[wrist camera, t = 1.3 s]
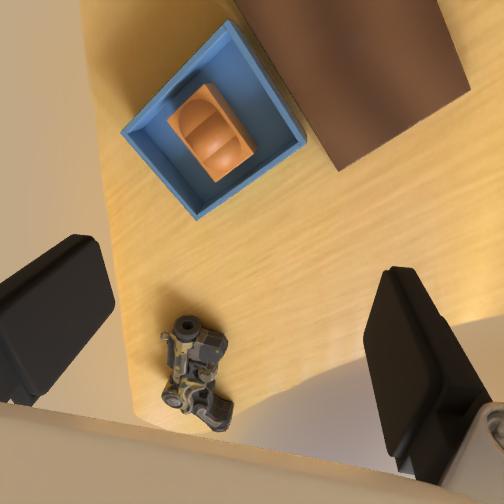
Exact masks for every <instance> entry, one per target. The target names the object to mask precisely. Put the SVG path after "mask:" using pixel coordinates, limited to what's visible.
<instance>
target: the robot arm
mask: <svg viewBox="0 0 504 504" xmlns="http://www.w3.org/2000/svg"><path fill="white" fill-rule="evenodd" d="M114 307H115V299H114V296H113V292H112V289H111V285H110V282H109V278H108V274H107V271H106V267H105V264H104V260H103V257H102V253H101V249H100V246H99V243H98V242H97V241H95V239H94V238H93V237H92V236H88V235H78V234H73V235H70V236H69V237H67V238H66V239H64V240H63V241H61V242H60V243H59V244H57V245H56V246H54V247H53V248H51V249H50V250H48V251H47V252H46V253H44V254H42V255H41V256H40V257H38V258H37V259H35V260H34V261H33V262H31V263H29V264H28V265H26V266H25V267H24V268H22V269H21V270H19V271H18V272H16V273H15V274H13V275H12V276H11V277H9V278H8V279H6V280H5V281H3V282H2V283H0V504H504V402H493V401H492V399H491V397H490V396H489V394H488V392H487V390H486V389H485V387H484V385H483V383H482V382H481V380H480V378H479V377H478V375H477V373H476V371H475V370H474V368H473V366H472V364H471V363H470V361H469V359H468V357H467V356H466V354H465V352H464V351H463V349H462V347H461V345H460V344H459V342H458V340H457V338H456V337H455V335H454V333H453V332H452V330H451V328H450V326H449V325H448V323H447V321H446V320H445V319H444V317H443V316H441V315H440V314H439V312H438V310H437V308H436V307H435V305H434V303H433V301H432V300H431V298H430V296H429V294H428V293H427V291H426V289H425V287H424V286H423V284H422V282H421V280H420V278H419V277H418V275H417V273H416V271H415V270H414V269H413V268H406V267H396V266H392V267H391V268H390V270H385V271H384V272H383V274H382V277H381V280H380V283H379V286H378V289H377V293H376V296H375V299H374V302H373V306H372V309H371V312H370V315H369V318H368V322H367V325H366V328H365V331H364V336H363V344H364V349H365V353H366V358H367V362H368V367H369V371H370V376H371V380H372V385H373V389H374V394H375V399H376V403H377V408H378V412H379V417H380V421H381V426H382V430H383V435H384V439H385V444H386V448H387V452H388V454H389V455H390V456H391V457H395V459H396V463H397V468H398V472H401V473H407V474H412V475H415V478H416V480H414V479H410V478H406V477H402V476H398V475H394V474H390V473H386V472H381V471H375V470H371V469H366V468H361V467H356V466H351V465H346V464H341V463H336V462H331V461H326V460H321V459H316V458H311V457H306V456H301V455H295V454H290V453H284V452H279V451H273V450H268V449H262V448H257V447H252V446H246V445H241V444H235V443H230V442H224V441H219V440H213V439H208V438H202V437H197V436H191V435H186V434H180V433H175V432H169V431H163V430H158V429H152V428H147V427H141V426H135V425H130V424H124V423H118V422H113V421H107V420H101V419H96V418H90V417H85V416H79V415H73V414H67V413H62V412H56V411H50V410H44V409H38V408H33V407H32V406H33V404H34V403H35V402H36V401H37V400H38V398H39V397H40V396H42V395H44V394H46V393H47V392H48V391H49V389H50V388H51V387H52V386H53V385H54V383H55V382H56V381H57V379H58V378H59V377H60V376H61V375H62V373H63V372H64V371H65V370H66V368H67V367H68V366H69V365H70V364H71V362H72V361H73V360H74V359H75V357H76V356H77V355H78V354H79V352H80V351H81V350H82V349H83V347H84V346H85V345H86V344H87V343H88V341H89V340H90V339H91V338H92V336H93V335H94V334H95V333H96V331H97V330H98V329H99V328H100V327H101V325H102V324H103V323H104V322H105V320H106V319H107V318H108V317H109V315H110V314H111V313H112V311H113V310H114ZM10 399H12V401H13V402H14V404H8V403H7V402H8V401H9V400H10ZM15 404H18V405H15ZM21 405H24V406H21ZM27 406H29V407H27Z"/></svg>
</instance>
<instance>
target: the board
mask: <svg viewBox="0 0 504 504" xmlns="http://www.w3.org/2000/svg"><path fill="white" fill-rule="evenodd" d="M234 2H235V4H236V5H237V7H238V8H239V10H240V12H241V13H242V15H243V17H244V18H245V20H246V22H247V23H248V25H249V26H250V28H251V30H252V31H253V33H254V35H255V36H256V38H257V40H258V41H259V43H260V44H261V46H262V48H263V49H264V51H265V53H266V54H267V56H268V57H269V59H270V61H271V62H272V64H273V66H274V67H275V69H276V71H277V72H278V74H279V75H280V77H281V79H282V80H283V82H284V84H285V85H286V87H287V89H288V90H289V92H290V93H291V95H292V97H293V98H294V100H295V102H296V103H297V105H298V107H299V108H300V110H301V111H302V113H303V115H304V116H305V118H306V120H307V121H308V123H309V124H310V126H311V128H312V129H313V131H314V133H315V134H316V136H317V138H318V139H319V141H320V142H321V144H322V146H323V147H324V149H325V151H326V152H327V154H328V156H329V157H330V159H331V160H332V162H333V164H334V165H335V167H336V169H337V170H338V172H340V171H341V170H343V169H345V168H346V167H348V166H349V165H351V164H353V163H354V162H356V161H357V160H359V159H361V158H362V157H364V156H366V155H367V154H369V153H370V152H372V151H374V150H375V149H377V148H378V147H380V146H382V145H383V144H385V143H386V142H388V141H390V140H391V139H393V138H394V137H396V136H398V135H399V134H401V133H402V132H404V131H406V130H407V129H409V128H411V127H412V126H414V125H415V124H417V123H419V122H420V121H422V120H423V119H425V118H427V117H428V116H430V115H431V114H433V113H435V112H436V111H438V110H439V109H441V108H443V107H444V106H446V105H448V104H449V103H451V102H452V101H454V100H456V99H457V98H459V97H460V96H462V95H464V94H465V93H467V92H468V91H470V90H471V88H470V85H469V83H468V80H467V78H466V75H465V73H464V70H463V67H462V65H461V62H460V60H459V57H458V54H457V52H456V49H455V47H454V44H453V42H452V39H451V36H450V34H449V31H448V29H447V26H446V23H445V21H444V18H443V16H442V13H441V11H440V8H439V5H438V3H437V0H234Z"/></svg>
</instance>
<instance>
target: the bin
mask: <svg viewBox="0 0 504 504" xmlns="http://www.w3.org/2000/svg"><path fill="white" fill-rule="evenodd" d="M208 83H214V84H215V86H216V87H217V88H218V90H219V91H220V93H221V94H222V96H223V97H224V99H225V100H226V101H227V103H228V104H229V106H230V107H231V109H232V110H233V111H234V113H235V114H236V116H237V117H238V119H239V120H240V121H241V123H242V124H243V126H244V127H245V129H246V130H247V131H248V133H249V134H250V136H251V137H252V139H253V140H254V142H255V143H256V144H257V146H258V148H257V150H256V151H255V153H254V154H253V155H252V156H250V157H249V158H248V159H246V160H245V161H244V162H242V163H241V164H240V165H238V166H237V167H236V168H234V169H233V170H232V171H230V172H229V173H228V174H226V175H225V176H224V177H222V178H221V179H220V180H218V181H217V182H215V181H214V180H213V179H212V178H211V176H210V175H209V174H208V173H207V171H206V170H205V169H204V167H203V166H202V165H201V164H200V162H199V161H198V160H197V159H196V157H195V156H194V155H193V154H192V152H191V151H190V150H189V149H188V147H187V146H186V145H185V143H184V142H183V141H182V140H181V138H180V137H179V136H178V135H177V133H176V132H175V131H174V130H173V128H172V127H171V126H170V125H169V123H168V122H167V119H168V118H169V117H171V116H172V115H173V114H174V113H175V112H176V111H177V110H178V109H179V108H180V107H181V106H182V105H183V104H184V103H185V102H186V101H187V100H188V99H189V98H190V97H191V96H192V95H193V94H194V93H195V92H196V91H197V90H198V89H199V88H200V87H201V86H202V85H203V84H208ZM120 133H121V134H122V135H123V137H124V138H125V139H126V140H127V141H128V142H129V144H130V145H131V146H132V147H133V148H134V149H135V151H136V152H137V153H138V154H139V155H140V156H141V157H142V159H143V160H144V161H145V162H146V163H147V164H148V166H149V167H150V168H151V169H152V170H153V171H154V173H155V174H156V175H157V176H158V177H159V178H160V179H161V181H162V182H163V183H164V184H165V185H166V186H167V188H168V189H169V190H170V191H171V192H172V193H173V195H174V196H175V197H176V198H177V199H178V200H179V201H180V203H181V204H182V205H183V206H184V207H185V208H186V210H187V211H188V212H189V213H190V214H191V215H192V217H193V218H194V219H195V220H196V221H197V220H199V219H200V218H202V217H203V216H205V215H206V214H207V213H209V212H210V211H212V210H213V209H215V208H216V207H217V206H219V205H220V204H222V203H223V202H224V201H226V200H227V199H229V198H230V197H232V196H233V195H234V194H236V193H237V192H239V191H240V190H242V189H243V188H244V187H246V186H247V185H249V184H250V183H251V182H253V181H254V180H256V179H257V178H259V177H260V176H261V175H263V174H264V173H266V172H267V171H269V170H270V169H271V168H273V167H274V166H276V165H277V164H279V163H280V162H281V161H283V160H284V159H286V158H287V157H288V156H290V155H291V154H293V153H294V152H296V151H297V150H298V149H300V148H301V147H303V146H304V145H305V144H307V135H306V133H305V132H304V130H303V128H302V127H301V125H300V124H299V122H298V120H297V119H296V117H295V116H294V114H293V112H292V111H291V109H290V108H289V106H288V104H287V103H286V101H285V100H284V98H283V96H282V95H281V93H280V92H279V90H278V88H277V87H276V85H275V84H274V82H273V80H272V79H271V77H270V76H269V74H268V72H267V71H266V69H265V68H264V66H263V64H262V63H261V61H260V60H259V58H258V56H257V55H256V53H255V52H254V50H253V48H252V47H251V45H250V44H249V42H248V40H247V39H246V37H245V36H244V34H243V32H242V31H241V29H240V28H239V26H238V25H237V24H235V23H234V22H232V21H231V20H229V19H227V20H226V21H225V22H224V23H223V25H221V27H220V28H219V29H218V30H217V31H216V32H215V33H214V34H213V35H212V36H211V37H210V38H209V39H208V40H207V41H206V42H205V43H204V44H203V45H202V47H201V48H200V49H199V50H198V51H197V52H196V53H195V54H194V55H193V56H192V57H191V58H190V59H189V60H188V61H187V62H186V63H185V64H184V66H183V67H182V68H181V69H180V70H179V71H178V72H177V73H176V74H175V75H174V76H173V77H172V78H171V79H170V80H169V81H168V82H167V83H166V84H165V86H164V87H163V88H162V89H161V90H160V91H159V92H158V93H157V94H156V95H155V96H154V97H153V98H152V99H151V100H150V101H149V102H148V103H147V104H146V106H145V107H144V108H143V109H142V110H141V111H140V112H139V113H138V114H137V115H136V116H135V117H134V118H133V119H132V120H131V121H130V122H129V123H128V124H127V126H126V127H125V128H124V129H123V130H122V131H121V132H120Z"/></svg>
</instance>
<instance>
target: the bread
mask: <svg viewBox="0 0 504 504" xmlns="http://www.w3.org/2000/svg"><path fill="white" fill-rule="evenodd" d="M167 122H168V123H169V125H170V126H171V127H172V128H173V130H174V131H175V132H176V133H177V135H178V136H179V137H180V138H181V140H182V141H183V142H184V143H185V145H186V146H187V147H188V149H189V150H190V151H191V152H192V154H193V155H194V156H195V157H196V159H197V160H198V161H199V162H200V164H201V165H202V166H203V167H204V169H205V170H206V171H207V173H208V174H209V175H210V176H211V178H212V179H213V180H214V181H215V182H217V181H218V180H220V179H221V178H222V177H224V176H225V175H226V174H228V173H229V172H230V171H232V170H233V169H234V168H236V167H237V166H238V165H240V164H241V163H242V162H244V161H245V160H246V159H248V158H249V157H250V156H252V155H253V154H254V153H255V151H256V150H257V148H258V146H257V144H256V143H255V142H254V140H253V139H252V137H251V136H250V134H249V133H248V131H247V130H246V129H245V127H244V126H243V124H242V123H241V121H240V120H239V119H238V117H237V116H236V114H235V113H234V111H233V110H232V109H231V107H230V106H229V104H228V103H227V101H226V100H225V99H224V97H223V96H222V94H221V93H220V91H219V90H218V88H217V87H216V86H215V84H214V83H208V84H203V85H202V86H201V87H200V88H199V89H198V90H197V91H196V92H195V93H194V94H193V95H192V96H191V97H190V98H189V99H188V100H187V101H186V102H185V103H184V104H183V105H182V106H181V107H180V108H179V109H178V110H177V111H176V112H175V113H174V114H173V115H172V116H171V117H169V118H168V119H167Z"/></svg>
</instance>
